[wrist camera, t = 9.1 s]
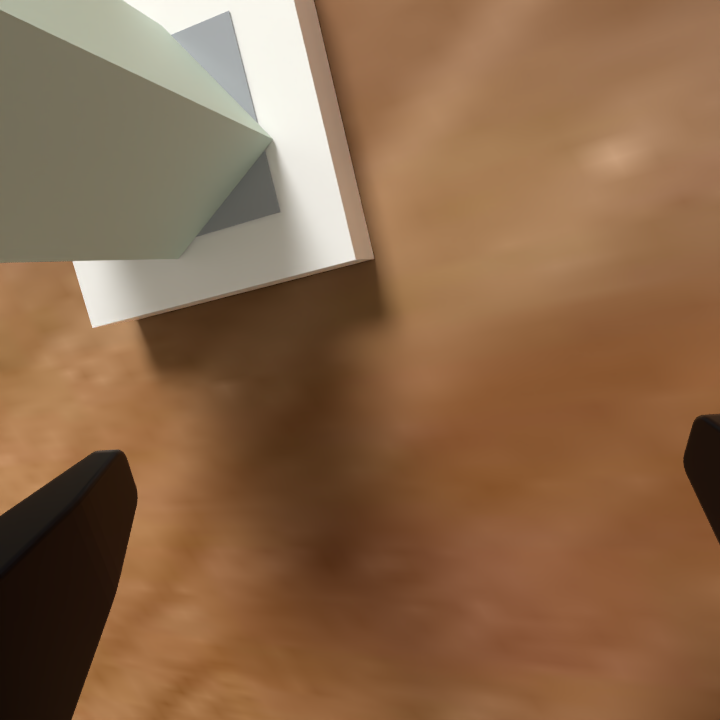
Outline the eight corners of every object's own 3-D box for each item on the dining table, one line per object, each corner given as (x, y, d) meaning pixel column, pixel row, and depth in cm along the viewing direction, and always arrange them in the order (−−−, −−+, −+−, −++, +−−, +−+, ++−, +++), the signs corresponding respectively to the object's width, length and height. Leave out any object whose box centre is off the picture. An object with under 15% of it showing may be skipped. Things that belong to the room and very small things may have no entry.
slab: (374, 258, 20) (355, 259, 17) (136, 320, 23) (90, 328, 20) (303, -44, 19) (271, -89, 16) (61, 61, 21) (3, 36, 19)
